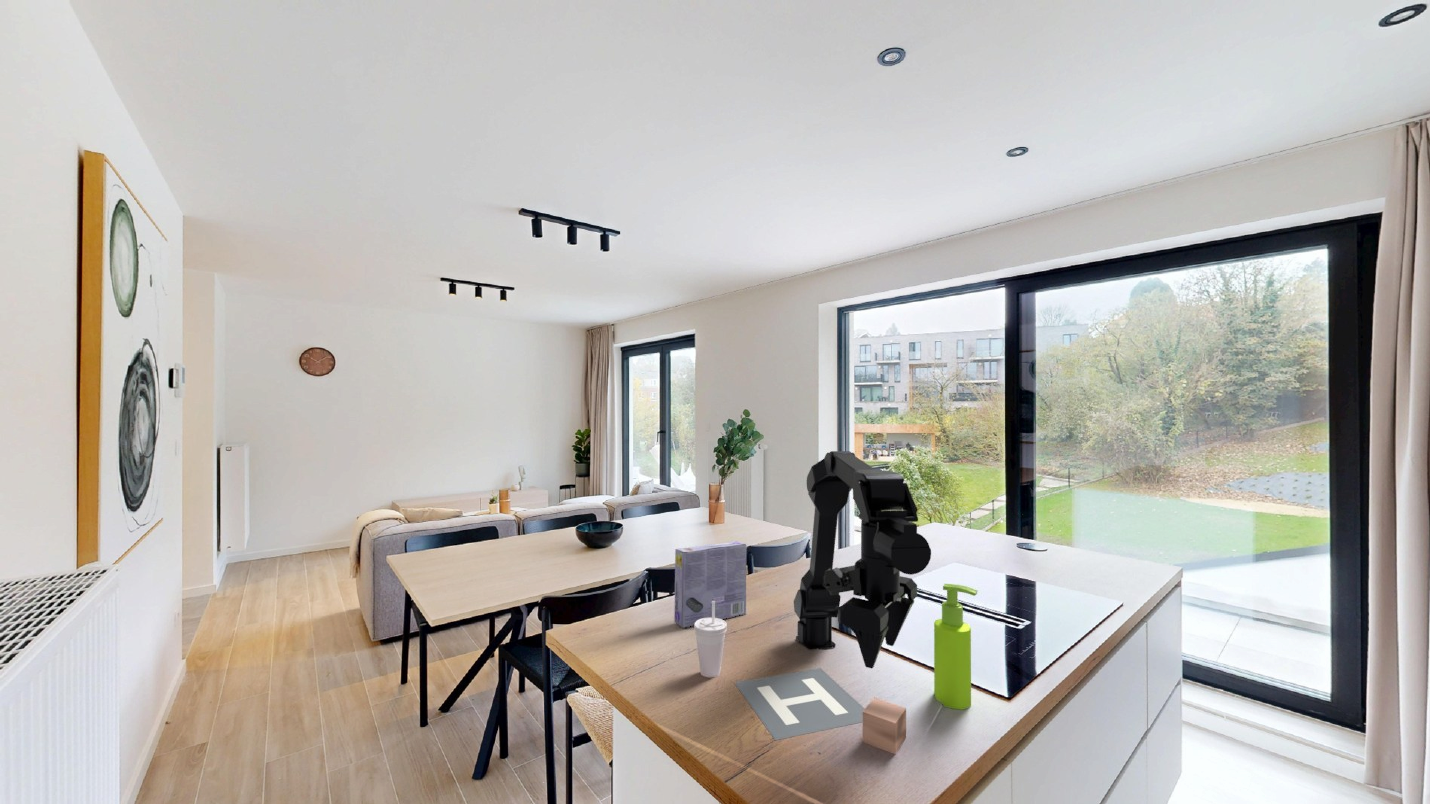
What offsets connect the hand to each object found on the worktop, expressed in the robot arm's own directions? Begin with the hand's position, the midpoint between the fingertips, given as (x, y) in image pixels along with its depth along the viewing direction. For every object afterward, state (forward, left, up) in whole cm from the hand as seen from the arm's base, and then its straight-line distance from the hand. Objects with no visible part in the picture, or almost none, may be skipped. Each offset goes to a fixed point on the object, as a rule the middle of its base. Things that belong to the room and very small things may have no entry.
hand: (880, 655), depth 82 cm
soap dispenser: (-19, -5, -13) cm, 24 cm away
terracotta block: (0, +1, -13) cm, 13 cm away
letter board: (+7, -13, -13) cm, 20 cm away
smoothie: (+19, -27, -13) cm, 36 cm away
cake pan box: (+10, -53, -13) cm, 56 cm away
